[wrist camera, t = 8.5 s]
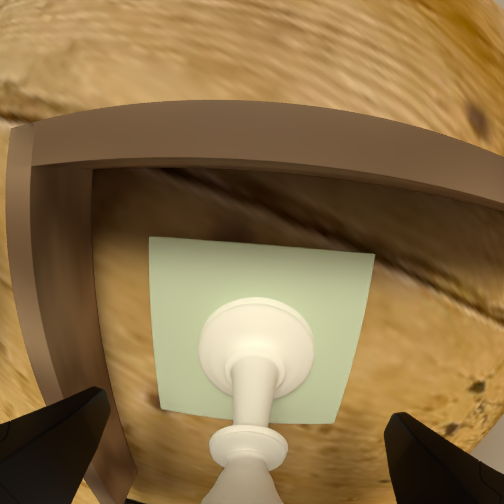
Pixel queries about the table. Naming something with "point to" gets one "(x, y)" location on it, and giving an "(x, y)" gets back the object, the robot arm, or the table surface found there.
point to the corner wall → (182, 156)
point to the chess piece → (252, 391)
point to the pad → (254, 285)
